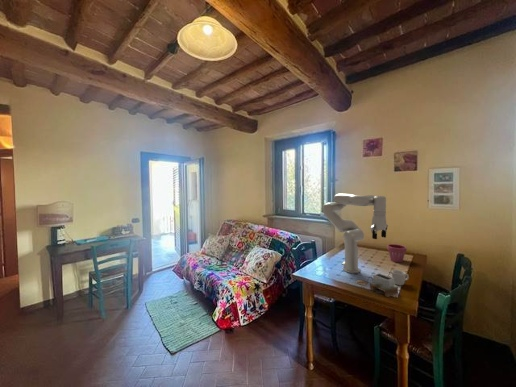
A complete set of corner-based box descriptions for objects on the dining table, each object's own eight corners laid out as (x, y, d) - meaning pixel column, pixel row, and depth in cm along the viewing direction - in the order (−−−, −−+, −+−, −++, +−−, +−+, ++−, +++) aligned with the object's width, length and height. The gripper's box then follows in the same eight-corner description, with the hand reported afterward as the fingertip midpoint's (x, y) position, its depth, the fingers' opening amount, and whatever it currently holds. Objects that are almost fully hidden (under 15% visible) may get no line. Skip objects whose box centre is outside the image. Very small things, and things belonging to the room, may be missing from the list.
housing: (373, 282, 145) (373, 275, 145) (379, 280, 148) (379, 273, 147) (388, 288, 136) (388, 280, 136) (394, 286, 139) (394, 278, 139)
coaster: (353, 282, 156) (354, 281, 156) (360, 279, 159) (360, 279, 159) (362, 285, 150) (362, 285, 150) (369, 283, 153) (369, 283, 153)
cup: (404, 280, 156) (404, 269, 156) (412, 286, 148) (412, 274, 148) (389, 281, 156) (389, 270, 156) (396, 286, 148) (396, 274, 148)
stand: (369, 289, 145) (369, 282, 144) (379, 285, 149) (379, 279, 149) (388, 297, 134) (388, 290, 134) (398, 293, 139) (398, 286, 139)
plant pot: (410, 261, 193) (410, 247, 193) (398, 264, 188) (398, 249, 188) (394, 257, 207) (394, 243, 206) (383, 259, 202) (383, 245, 201)
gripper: (382, 212, 164) (382, 235, 165) (366, 214, 156) (366, 238, 157) (392, 213, 157) (392, 237, 158) (376, 215, 149) (376, 240, 150)
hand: (379, 238), depth 157 cm, fingers open, 9 cm apart
